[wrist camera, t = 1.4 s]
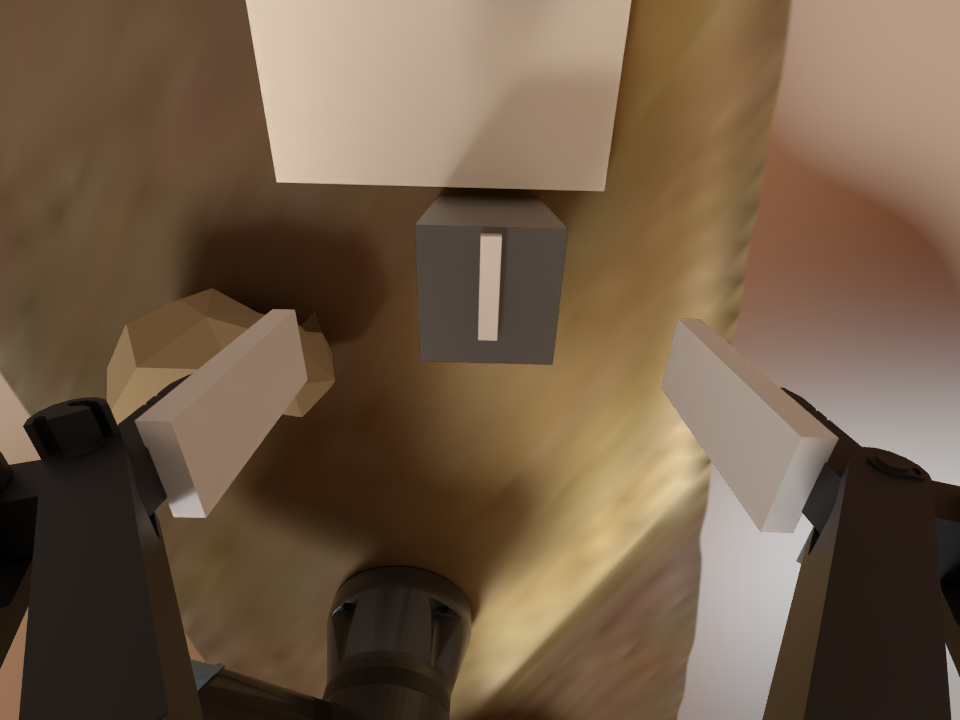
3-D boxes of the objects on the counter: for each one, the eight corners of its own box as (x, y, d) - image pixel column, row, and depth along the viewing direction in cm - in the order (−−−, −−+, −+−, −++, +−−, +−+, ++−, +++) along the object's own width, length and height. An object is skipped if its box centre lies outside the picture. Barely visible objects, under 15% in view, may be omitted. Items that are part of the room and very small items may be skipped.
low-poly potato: (163, 385, 36) (242, 497, 34) (6, 378, 25) (110, 540, 24) (299, 264, 36) (386, 371, 34) (198, 205, 25) (318, 357, 23)
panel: (596, 188, 29) (628, 201, 22) (289, 179, 29) (234, 190, 22) (643, -163, 21) (709, -287, 15) (234, -174, 21) (130, -304, 15)
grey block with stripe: (531, 294, 32) (554, 370, 21) (440, 291, 32) (418, 366, 21) (539, 197, 29) (570, 231, 18) (438, 195, 29) (412, 226, 18)
